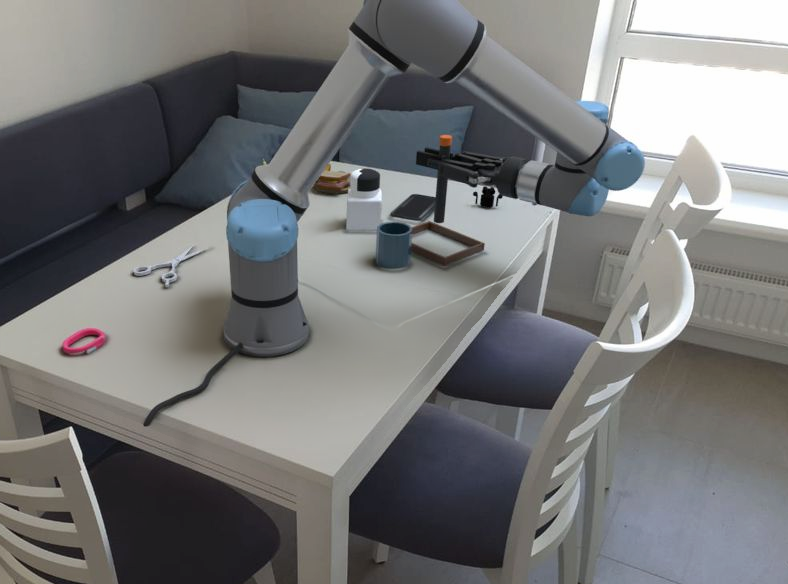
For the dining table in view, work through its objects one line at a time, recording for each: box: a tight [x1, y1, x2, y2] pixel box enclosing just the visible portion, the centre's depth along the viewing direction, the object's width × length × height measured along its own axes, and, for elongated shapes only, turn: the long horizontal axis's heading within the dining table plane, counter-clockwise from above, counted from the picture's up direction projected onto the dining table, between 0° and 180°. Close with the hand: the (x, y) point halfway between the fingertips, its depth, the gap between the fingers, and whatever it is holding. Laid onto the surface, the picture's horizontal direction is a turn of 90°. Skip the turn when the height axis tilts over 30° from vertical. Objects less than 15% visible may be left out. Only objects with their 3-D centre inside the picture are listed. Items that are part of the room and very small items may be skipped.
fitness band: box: [62, 327, 107, 355], centre depth 142 cm, size 8×6×2 cm
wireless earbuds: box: [472, 185, 504, 209], centre depth 192 cm, size 7×2×5 cm, turn 70°
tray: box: [411, 220, 486, 267], centre depth 173 cm, size 12×16×2 cm
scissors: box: [133, 243, 210, 288], centre depth 169 cm, size 11×1×20 cm
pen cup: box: [375, 221, 413, 269], centre depth 165 cm, size 7×7×8 cm
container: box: [345, 167, 383, 231], centre depth 181 cm, size 8×8×13 cm
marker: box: [433, 134, 453, 224], centre depth 165 cm, size 2×2×18 cm
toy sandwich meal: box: [312, 163, 351, 194], centre depth 205 cm, size 12×14×5 cm
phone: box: [390, 193, 436, 223], centre depth 191 cm, size 8×1×15 cm
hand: (421, 155), depth 166 cm, fingers closed on marker, 2 cm apart
